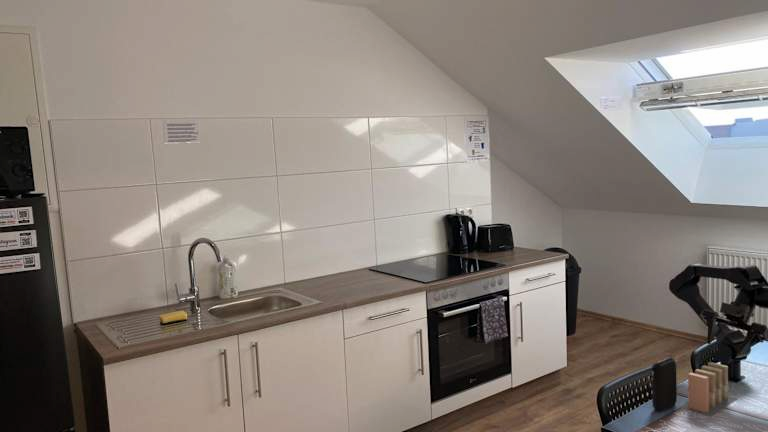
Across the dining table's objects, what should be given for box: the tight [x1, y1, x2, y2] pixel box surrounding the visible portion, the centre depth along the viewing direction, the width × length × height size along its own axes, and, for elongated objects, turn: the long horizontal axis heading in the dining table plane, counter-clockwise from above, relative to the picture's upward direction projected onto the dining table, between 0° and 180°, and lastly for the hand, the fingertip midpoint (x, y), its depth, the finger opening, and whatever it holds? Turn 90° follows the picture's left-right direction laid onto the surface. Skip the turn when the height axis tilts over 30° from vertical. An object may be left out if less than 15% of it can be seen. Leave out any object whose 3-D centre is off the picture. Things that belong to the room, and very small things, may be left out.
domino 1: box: [687, 372, 709, 413], centre depth 171 cm, size 2×5×10 cm, turn 37°
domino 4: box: [707, 361, 729, 400], centre depth 178 cm, size 2×5×10 cm, turn 37°
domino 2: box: [694, 368, 716, 408], centre depth 173 cm, size 2×5×10 cm, turn 37°
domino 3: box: [700, 365, 722, 404], centre depth 175 cm, size 2×5×10 cm, turn 37°
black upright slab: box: [650, 357, 678, 412], centre depth 173 cm, size 11×3×15 cm, turn 123°
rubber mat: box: [679, 395, 738, 417], centre depth 175 cm, size 17×9×1 cm, turn 127°
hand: (723, 348), depth 180 cm, fingers open, 9 cm apart
